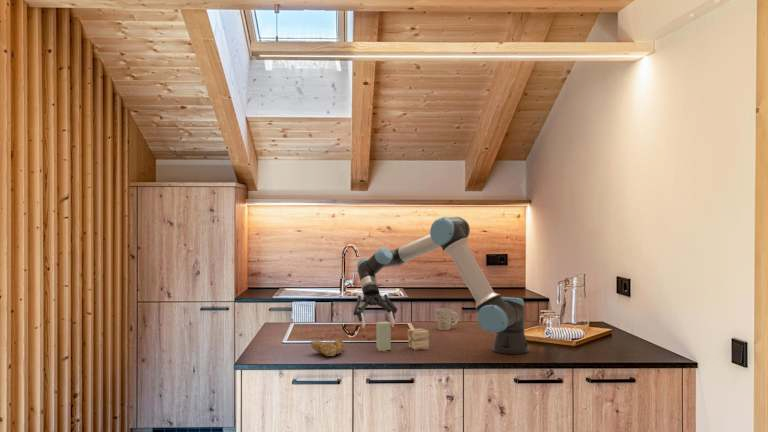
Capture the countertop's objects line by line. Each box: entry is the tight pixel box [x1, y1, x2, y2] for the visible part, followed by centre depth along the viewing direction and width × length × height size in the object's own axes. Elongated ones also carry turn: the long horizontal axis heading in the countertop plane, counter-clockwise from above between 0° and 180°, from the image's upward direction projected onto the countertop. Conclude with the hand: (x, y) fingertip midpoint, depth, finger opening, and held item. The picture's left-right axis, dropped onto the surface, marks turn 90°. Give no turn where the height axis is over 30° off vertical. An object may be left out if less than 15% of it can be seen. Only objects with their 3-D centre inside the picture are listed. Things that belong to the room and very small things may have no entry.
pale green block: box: [375, 321, 392, 350], centre depth 270 cm, size 5×5×12 cm
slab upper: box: [407, 327, 430, 342], centre depth 273 cm, size 7×7×4 cm
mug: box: [435, 307, 460, 331], centre depth 317 cm, size 8×13×10 cm, turn 115°
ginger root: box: [310, 337, 346, 357], centre depth 262 cm, size 16×16×8 cm
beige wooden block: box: [408, 339, 430, 351], centre depth 274 cm, size 7×7×4 cm
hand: (378, 326), depth 274 cm, fingers open, 13 cm apart
